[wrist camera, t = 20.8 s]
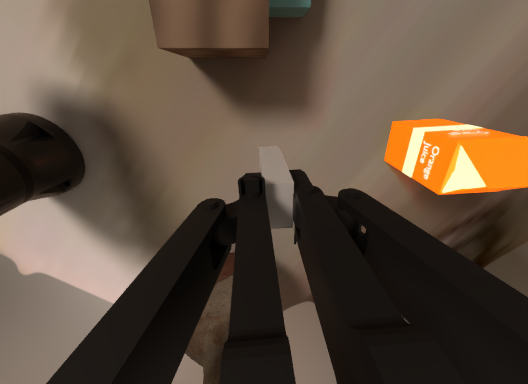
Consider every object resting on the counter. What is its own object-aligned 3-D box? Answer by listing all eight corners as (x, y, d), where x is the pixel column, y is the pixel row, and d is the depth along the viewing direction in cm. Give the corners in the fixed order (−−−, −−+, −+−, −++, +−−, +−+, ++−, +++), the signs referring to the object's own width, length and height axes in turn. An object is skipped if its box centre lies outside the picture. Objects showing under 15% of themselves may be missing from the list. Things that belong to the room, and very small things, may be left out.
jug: (188, 288, 59) (131, 462, 32) (194, 225, 49) (121, 399, 22) (265, 298, 61) (272, 465, 35) (285, 240, 52) (316, 410, 25)
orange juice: (427, 158, 43) (546, 213, 25) (383, 160, 43) (472, 217, 25) (440, 117, 39) (590, 148, 22) (392, 120, 39) (503, 153, 22)
